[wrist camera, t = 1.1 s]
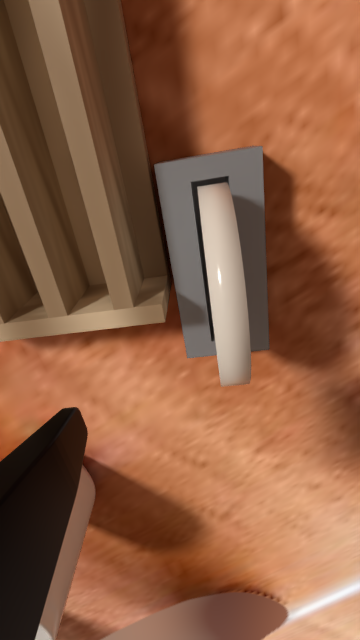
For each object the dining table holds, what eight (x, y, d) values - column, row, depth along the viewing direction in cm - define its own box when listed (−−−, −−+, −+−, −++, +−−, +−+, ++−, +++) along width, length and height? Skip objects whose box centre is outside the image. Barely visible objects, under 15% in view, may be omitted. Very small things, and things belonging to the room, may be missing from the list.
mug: (103, 451, 28) (55, 613, 19) (95, 512, 33) (53, 670, 23) (-39, 427, 28) (-167, 582, 18) (-28, 492, 32) (-127, 647, 22)
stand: (253, 145, 17) (262, 146, 15) (261, 328, 22) (269, 349, 20) (159, 162, 18) (153, 164, 15) (188, 337, 23) (187, 358, 21)
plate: (219, 173, 17) (240, 199, 9) (233, 323, 21) (255, 429, 13) (196, 177, 17) (198, 205, 9) (214, 325, 22) (226, 432, 14)
